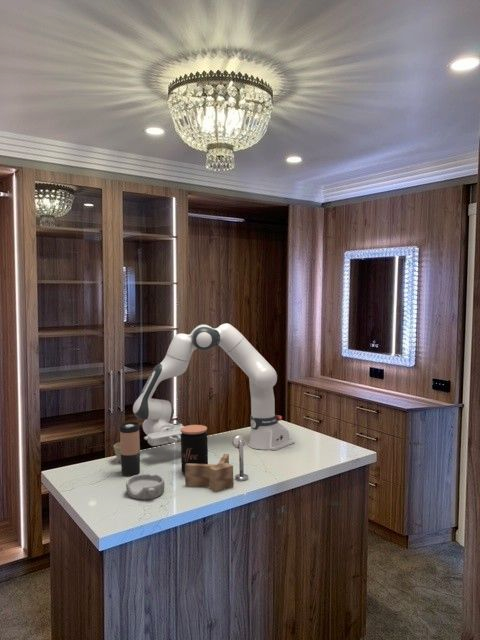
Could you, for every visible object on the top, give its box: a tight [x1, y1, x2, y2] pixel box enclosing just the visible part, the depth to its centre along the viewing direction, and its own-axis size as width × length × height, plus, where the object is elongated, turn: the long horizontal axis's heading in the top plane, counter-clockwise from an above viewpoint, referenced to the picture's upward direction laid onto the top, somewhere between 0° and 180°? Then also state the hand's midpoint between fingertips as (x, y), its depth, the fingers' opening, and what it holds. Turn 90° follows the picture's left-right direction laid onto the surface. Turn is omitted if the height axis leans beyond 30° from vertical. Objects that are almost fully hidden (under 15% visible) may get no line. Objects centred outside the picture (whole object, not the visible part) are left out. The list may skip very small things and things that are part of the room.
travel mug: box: [119, 421, 141, 478], centre depth 194 cm, size 8×8×20 cm
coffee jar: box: [180, 424, 209, 476], centre depth 194 cm, size 11×11×18 cm
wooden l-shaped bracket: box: [184, 453, 234, 493], centre depth 182 cm, size 20×13×8 cm, turn 125°
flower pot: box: [113, 442, 121, 463], centre depth 209 cm, size 10×10×7 cm
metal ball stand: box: [231, 434, 249, 482], centre depth 187 cm, size 5×5×16 cm
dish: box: [125, 473, 165, 500], centre depth 176 cm, size 14×14×5 cm
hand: (179, 441), depth 204 cm, fingers closed
